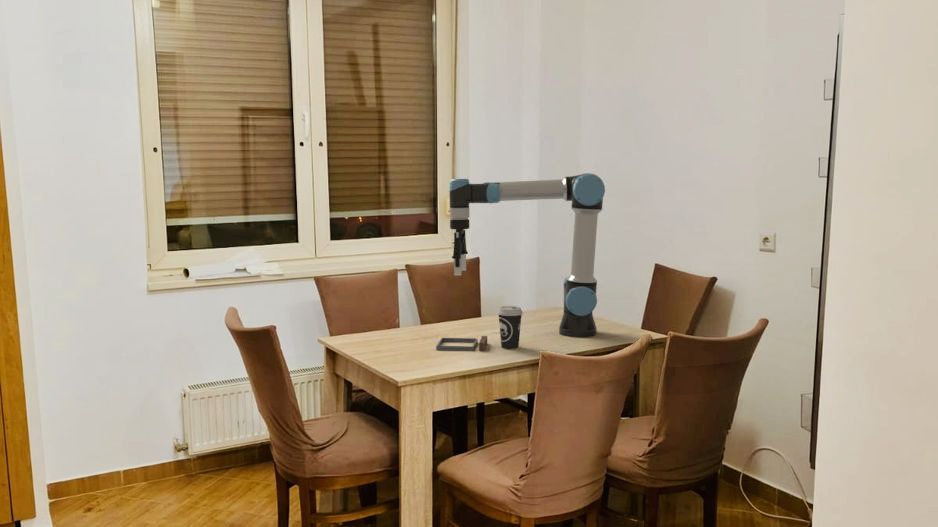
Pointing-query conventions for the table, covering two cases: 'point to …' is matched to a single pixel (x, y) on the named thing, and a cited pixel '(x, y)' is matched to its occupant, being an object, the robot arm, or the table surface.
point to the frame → (464, 348)
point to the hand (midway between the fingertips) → (460, 273)
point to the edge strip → (483, 343)
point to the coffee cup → (510, 326)
